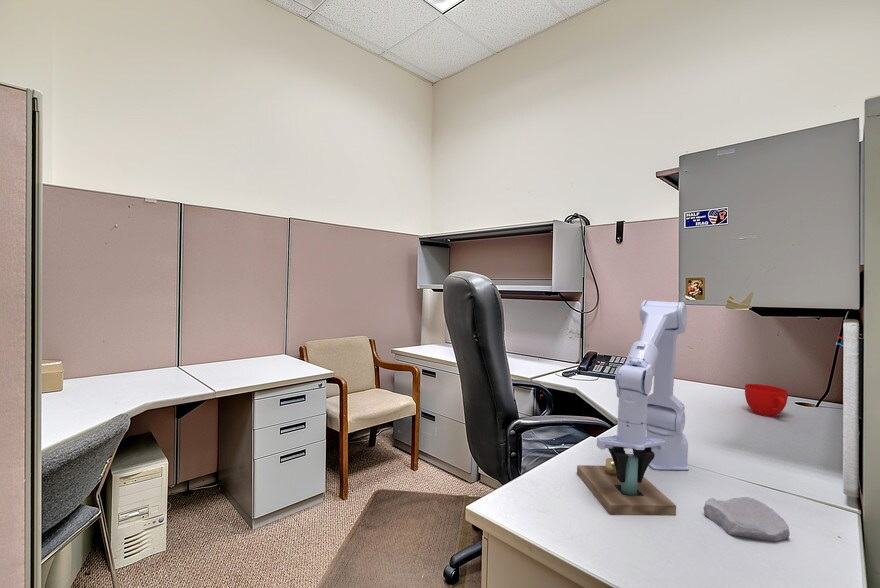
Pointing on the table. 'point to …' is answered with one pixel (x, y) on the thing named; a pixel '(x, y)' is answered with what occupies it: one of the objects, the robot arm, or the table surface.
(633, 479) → the teal pin
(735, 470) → the table surface
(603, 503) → the pin board
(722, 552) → the table surface
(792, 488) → the table surface
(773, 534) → the stone block
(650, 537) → the table surface
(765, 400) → the ceramic cup
